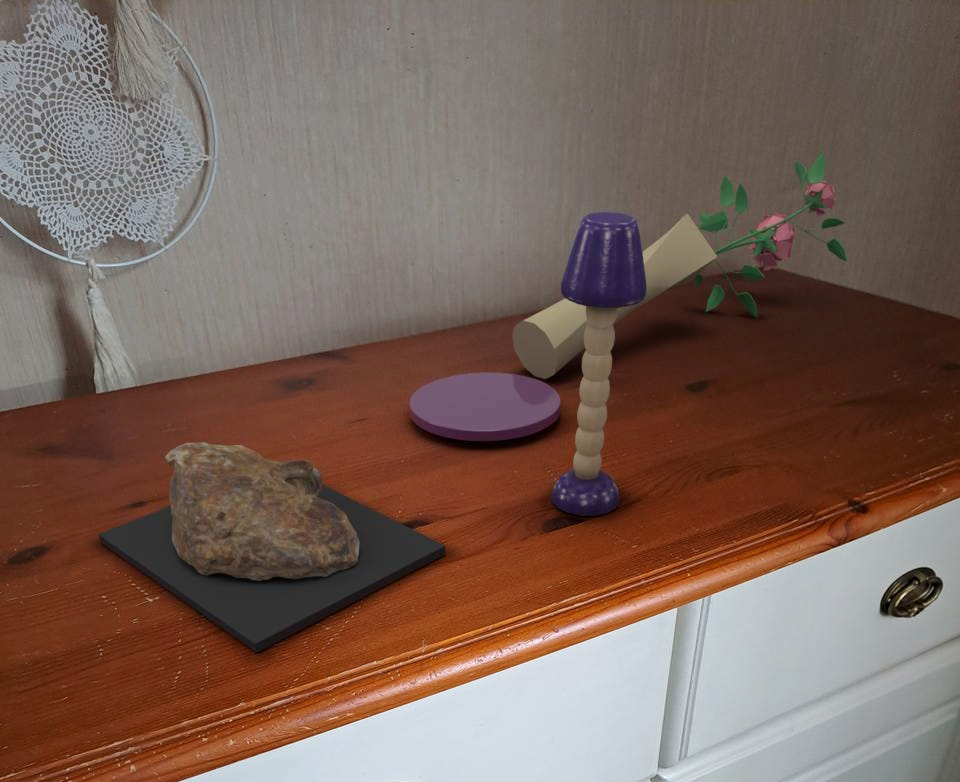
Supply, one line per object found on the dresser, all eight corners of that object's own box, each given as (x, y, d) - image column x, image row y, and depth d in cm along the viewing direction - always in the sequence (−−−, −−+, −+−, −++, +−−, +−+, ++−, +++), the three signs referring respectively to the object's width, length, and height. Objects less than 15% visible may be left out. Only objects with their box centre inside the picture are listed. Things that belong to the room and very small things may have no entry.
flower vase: (524, 445, 85) (765, 274, 99) (622, 450, 75) (874, 260, 89) (473, 316, 79) (736, 154, 93) (572, 304, 70) (848, 125, 83)
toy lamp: (623, 484, 62) (644, 205, 52) (633, 519, 58) (659, 226, 49) (548, 485, 62) (556, 207, 52) (554, 521, 58) (564, 228, 49)
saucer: (379, 419, 71) (378, 401, 70) (484, 378, 78) (483, 361, 77) (486, 464, 65) (486, 444, 64) (591, 415, 71) (592, 397, 70)
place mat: (100, 542, 57) (97, 533, 57) (280, 470, 65) (279, 462, 64) (256, 653, 48) (254, 643, 48) (445, 554, 56) (445, 545, 55)
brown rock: (205, 611, 50) (186, 528, 47) (154, 510, 59) (135, 434, 56) (375, 565, 54) (367, 484, 51) (302, 476, 63) (292, 403, 60)
